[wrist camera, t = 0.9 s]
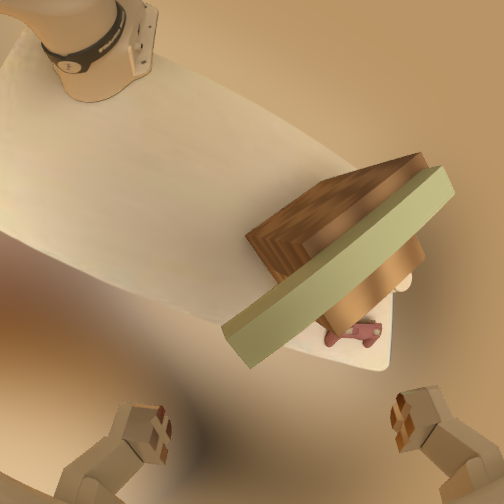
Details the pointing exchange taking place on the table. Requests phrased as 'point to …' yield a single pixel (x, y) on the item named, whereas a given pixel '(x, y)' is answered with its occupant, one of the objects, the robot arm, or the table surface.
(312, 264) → the bar
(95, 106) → the table surface
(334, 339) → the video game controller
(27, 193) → the table surface
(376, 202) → the pedestal
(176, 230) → the table surface
